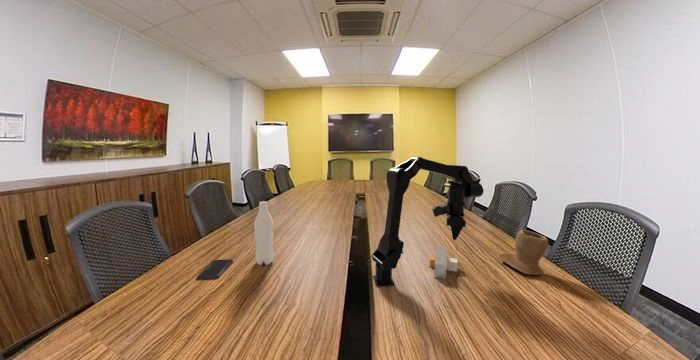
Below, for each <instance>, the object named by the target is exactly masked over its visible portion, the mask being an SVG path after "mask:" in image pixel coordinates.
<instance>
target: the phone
mask: <svg viewBox="0 0 700 360" xmlns="http://www.w3.org/2000/svg"><path fill="white" fill-rule="evenodd" d="M233 263H234V259H233V258H232V259H229V258H228V259H214V260H213V261H211V262H210V263H209V264H208V265H206V267H205V268H204V269H203V270H202V271H201V272H199V274H197V275H196V280H212V279H213V280H215V279H220V278H221V276H222V275H223V274H224V273H225V272H226V271H227V270H228V269H229V268H230V266H231V265H232V264H233Z"/></svg>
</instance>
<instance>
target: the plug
mask: <svg viewBox="0 0 700 360" xmlns="http://www.w3.org/2000/svg"><path fill="white" fill-rule="evenodd" d="M435 258H436V256H435V257H434V256H430V259H429V267H430V268H434V269H435ZM446 271H449V272H450V271H451V272H458V258H454V257H447V269H446Z"/></svg>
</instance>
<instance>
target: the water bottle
mask: <svg viewBox="0 0 700 360" xmlns="http://www.w3.org/2000/svg"><path fill="white" fill-rule="evenodd" d="M268 208H269V207H268V201H265V200H263V201H259V202H258V209H259V210H258V212H257V215H256V217H255V219H254V221H253V222H254V223H253V224H254V241H255V254H254V255H255V256H254V257H255V262H256V263H257V265H258V266H262V265H265V266H269V265H270V264H271V263H272V262H273V261H274V259H275V252H274V249H273V248H274V246H273V241H274V236H275V235H274V219H273V217H272V215H271V214H270V212H269V209H268Z"/></svg>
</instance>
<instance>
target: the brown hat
mask: <svg viewBox="0 0 700 360" xmlns="http://www.w3.org/2000/svg"><path fill="white" fill-rule="evenodd" d="M514 245H515V254H514V253H510V252H507V253H506V252H505V253H504V252H503V253H500V254H498V255H497V258H498V259H499V260H501V261H502V262H504V263H506V265H508V266H510V267H511V268H513V269H515V270H517V271H519V272H521V273H522V274H525V275H531V276H538V275H543V274H544V273H545V272H544V270H543V269H542V268H541V267H540V265H539V263H540V260H541V259H542V257H543V256H544V255H545V252H546V250H547V249H548V246H549V239H548V238H547V237H546V236H544V235H542V234H539V233H536V232H533V231H530V230H527V229H526V230H525V229H520V230H519V231H518V232H517V233H516V236H515V243H514Z"/></svg>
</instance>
